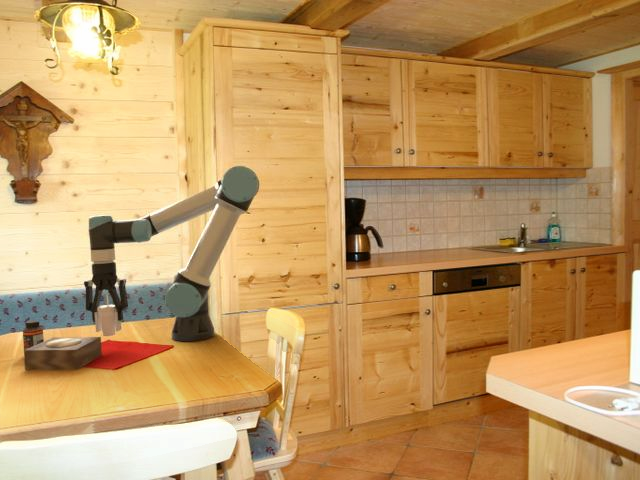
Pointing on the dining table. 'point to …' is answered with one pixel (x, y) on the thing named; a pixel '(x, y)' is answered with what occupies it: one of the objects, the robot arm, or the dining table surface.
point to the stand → (62, 353)
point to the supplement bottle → (32, 334)
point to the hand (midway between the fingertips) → (108, 330)
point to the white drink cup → (107, 318)
